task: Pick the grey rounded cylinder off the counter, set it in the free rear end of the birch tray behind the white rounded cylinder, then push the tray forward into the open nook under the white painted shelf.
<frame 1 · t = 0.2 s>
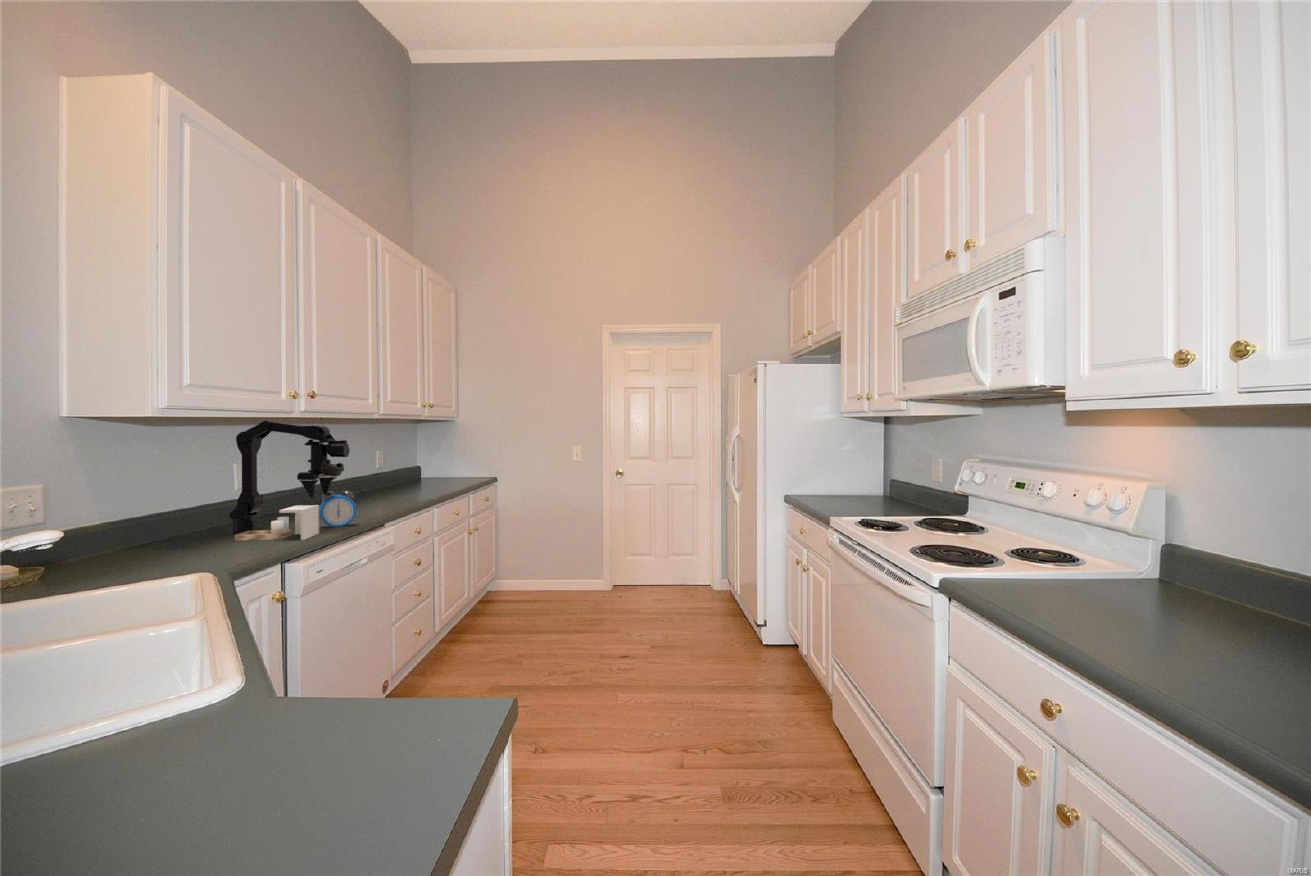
hand: (318, 496, 213), 14 cm above the counter, tool pointing down, fingers open, 9 cm apart
counter nook: (300, 538, 200), on the counter
grey rounded cylinder: (282, 532, 210), on the counter
tray: (264, 539, 198), on the counter, touching white rounded cylinder
alarm clock: (338, 527, 223), on the counter
white rounded cylinder: (277, 537, 198), point 1 cm above the counter, touching tray
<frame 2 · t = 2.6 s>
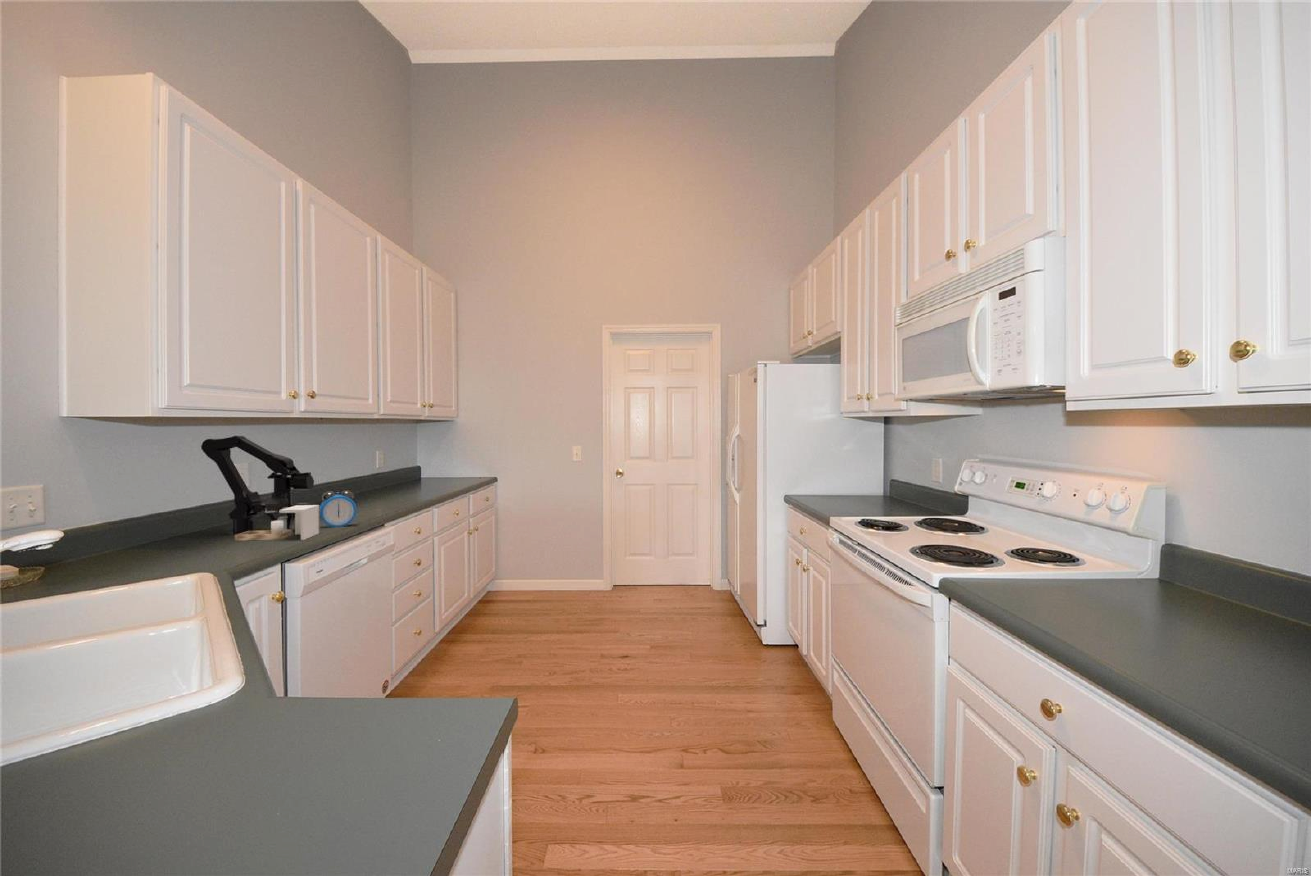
hand: (282, 529, 210), 1 cm above the counter, tool pointing down, fingers closed on grey rounded cylinder, 4 cm apart
grey rounded cylinder: (282, 532, 210), on the counter, touching gripper
everything else where it was.
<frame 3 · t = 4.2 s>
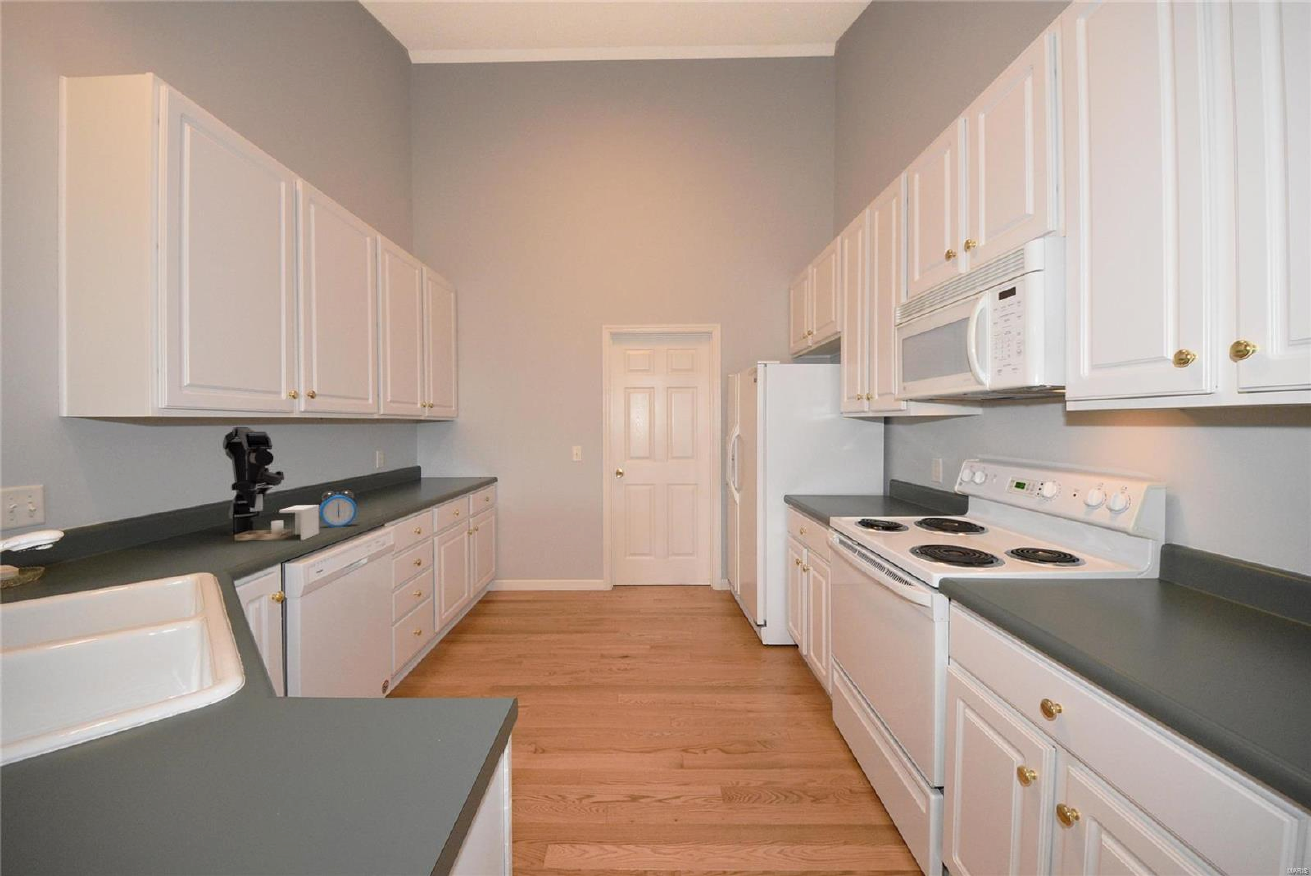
hand: (256, 507, 198), 12 cm above the counter, tool pointing down, fingers closed on grey rounded cylinder, 4 cm apart
grey rounded cylinder: (256, 510, 198), point 10 cm above the counter, touching gripper
everything else where it was.
when the fingers open (3 cm above the counter, at t = 6.1 s): grey rounded cylinder drops 2 cm, resting on tray.
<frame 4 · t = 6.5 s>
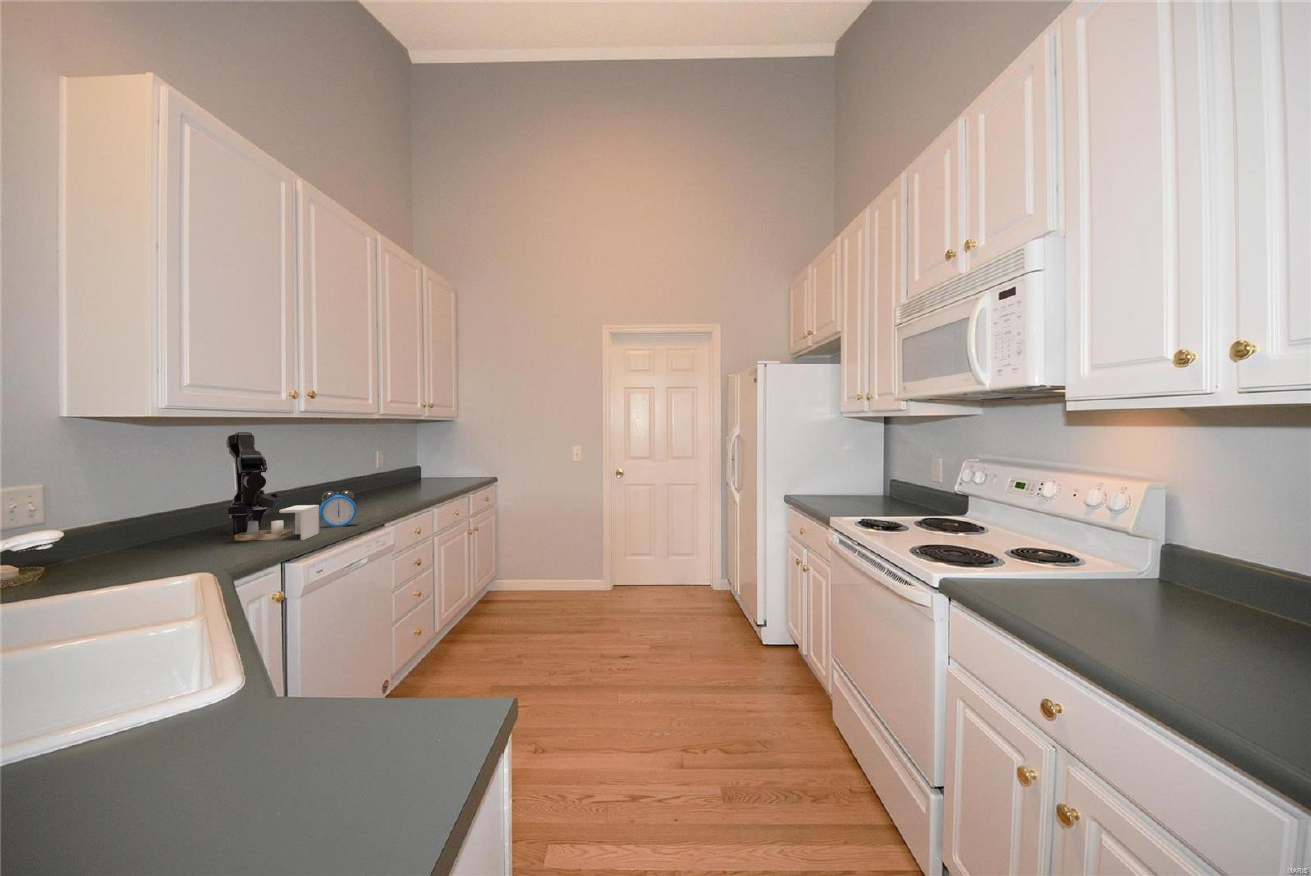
hand: (251, 530, 197), 3 cm above the counter, tool pointing down, fingers open, 8 cm apart
grey rounded cylinder: (251, 537, 197), point 1 cm above the counter, touching tray
tray: (264, 539, 198), on the counter, touching grey rounded cylinder, white rounded cylinder
everything else where it was.
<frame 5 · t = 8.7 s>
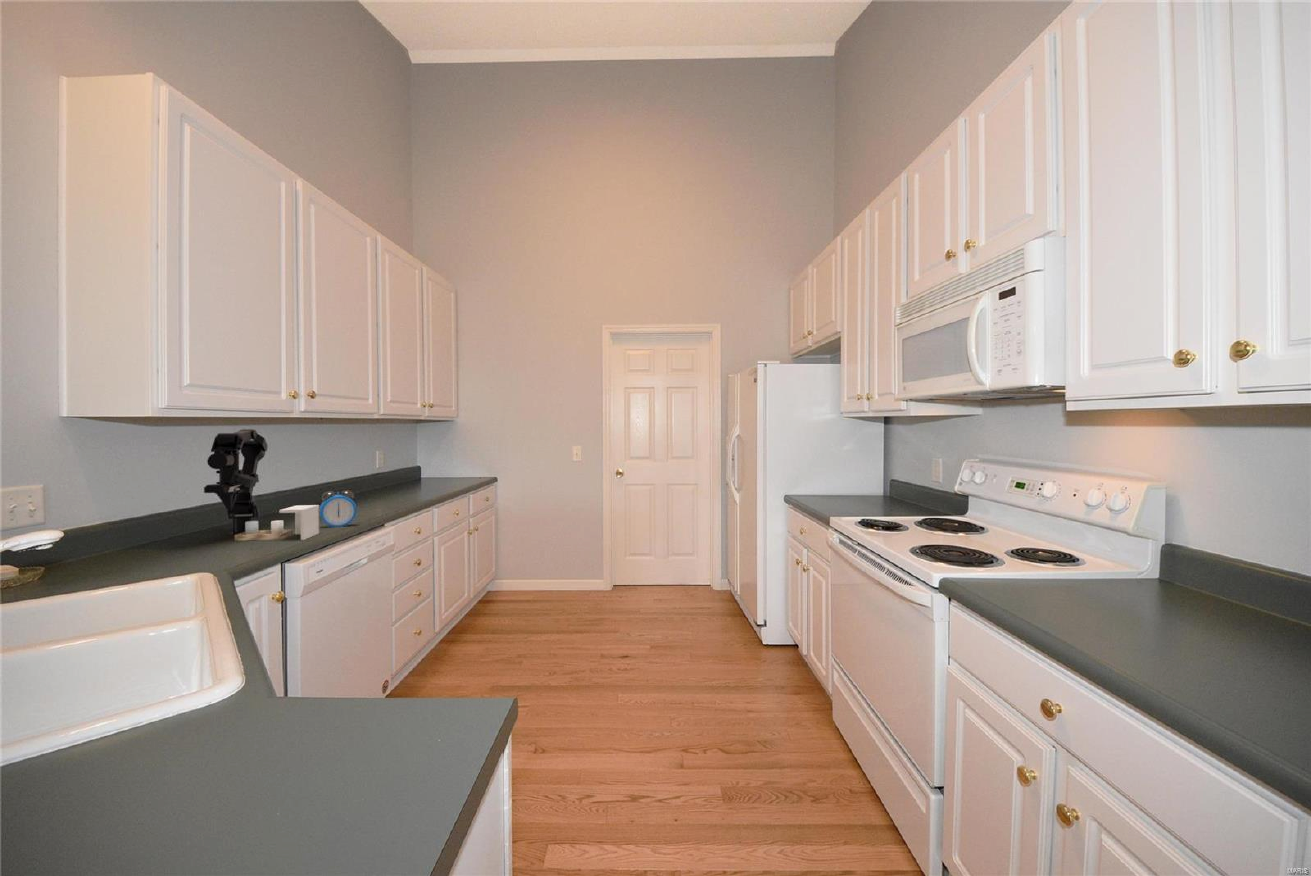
hand: (229, 509, 196), 11 cm above the counter, tool pointing down, fingers closed
nothing on the counter moved.
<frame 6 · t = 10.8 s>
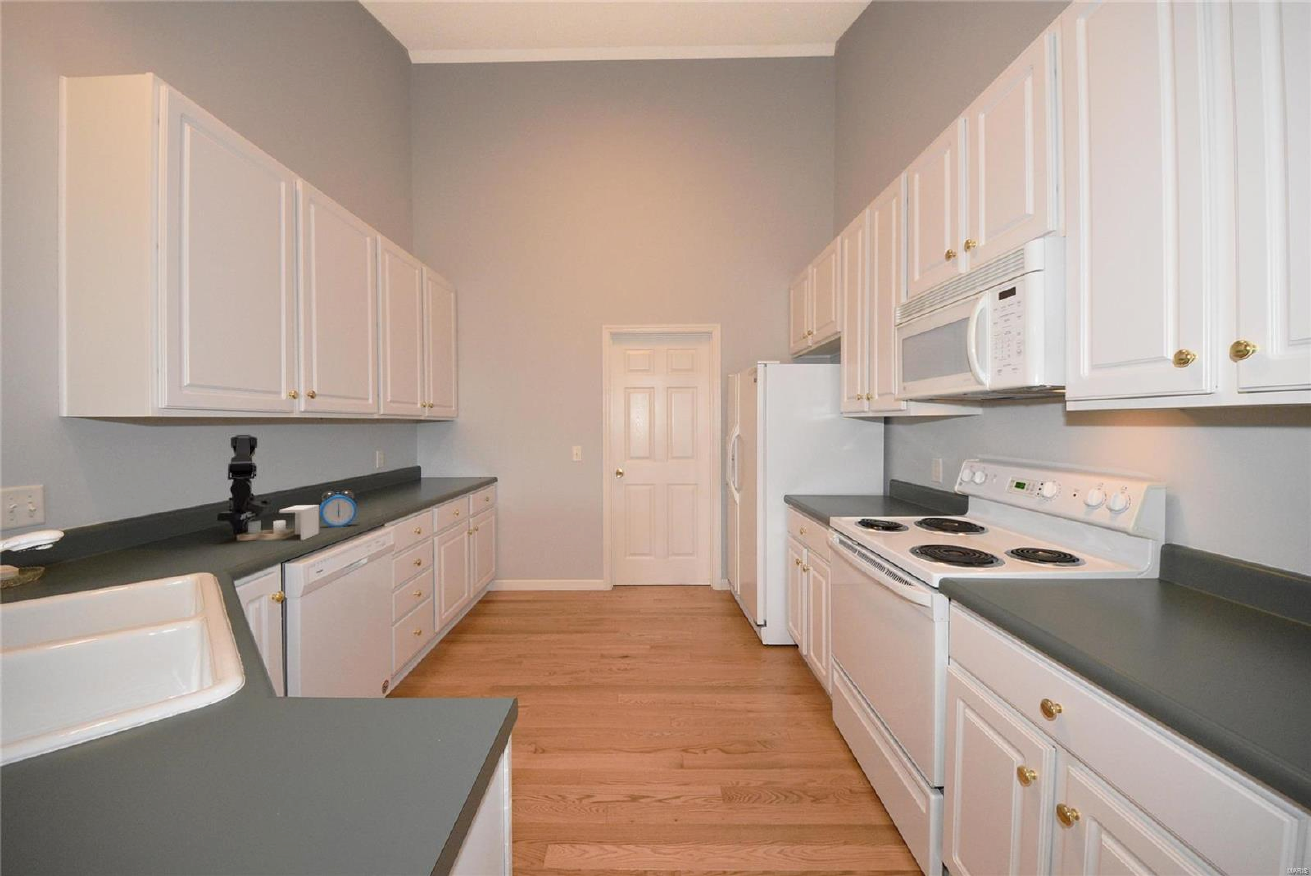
hand: (241, 536, 196), 1 cm above the counter, tool pointing down, fingers closed, pressing on tray
grey rounded cylinder: (254, 537, 197), point 1 cm above the counter, touching gripper, tray
tray: (266, 539, 198), on the counter, touching grey rounded cylinder, white rounded cylinder, gripper
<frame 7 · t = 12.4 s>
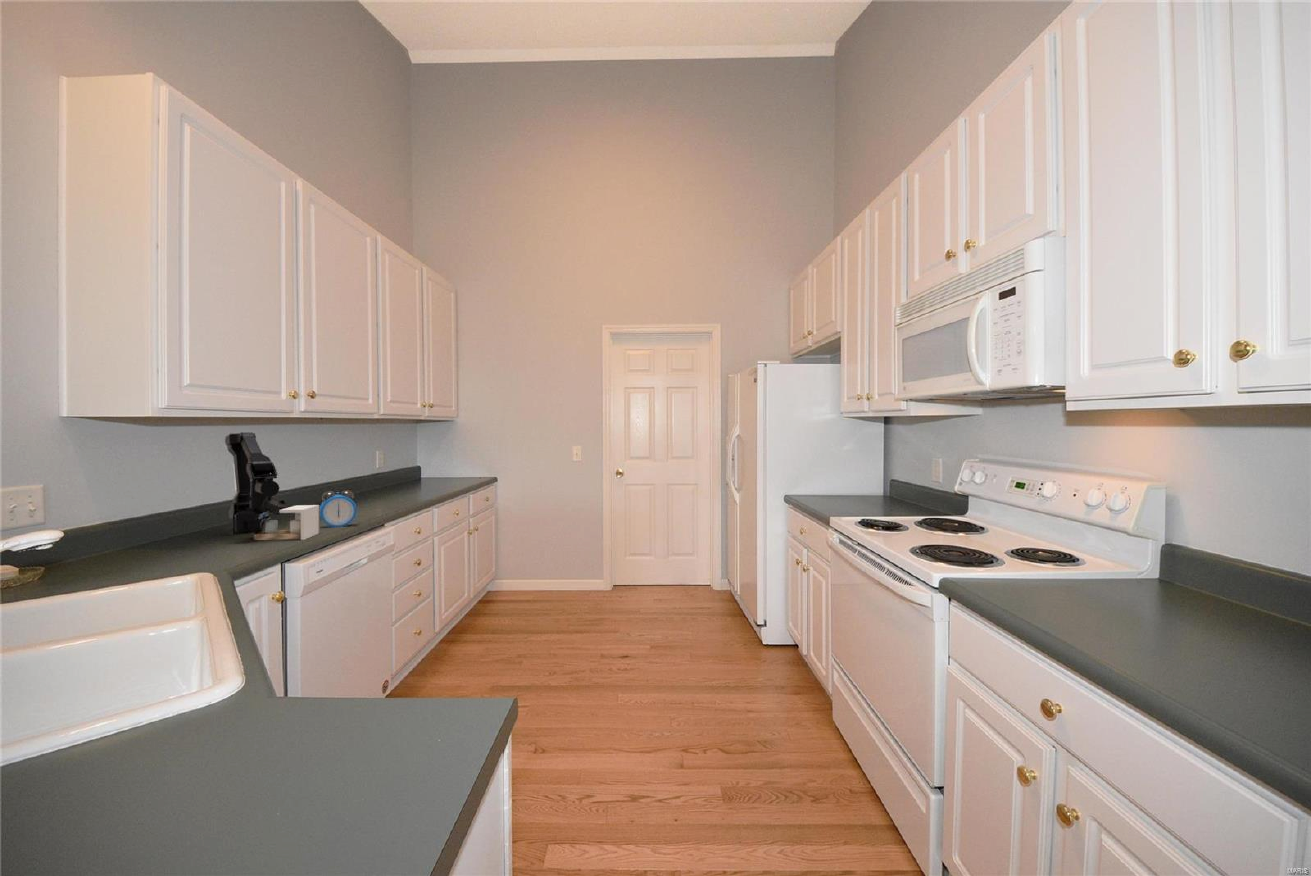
hand: (258, 536, 197), 1 cm above the counter, tool pointing down, fingers closed, pressing on tray
grey rounded cylinder: (270, 537, 198), point 1 cm above the counter, touching gripper, tray
tray: (283, 538, 199), on the counter, touching grey rounded cylinder, white rounded cylinder, gripper
white rounded cylinder: (296, 536, 199), point 1 cm above the counter, touching tray
everything else where it was.
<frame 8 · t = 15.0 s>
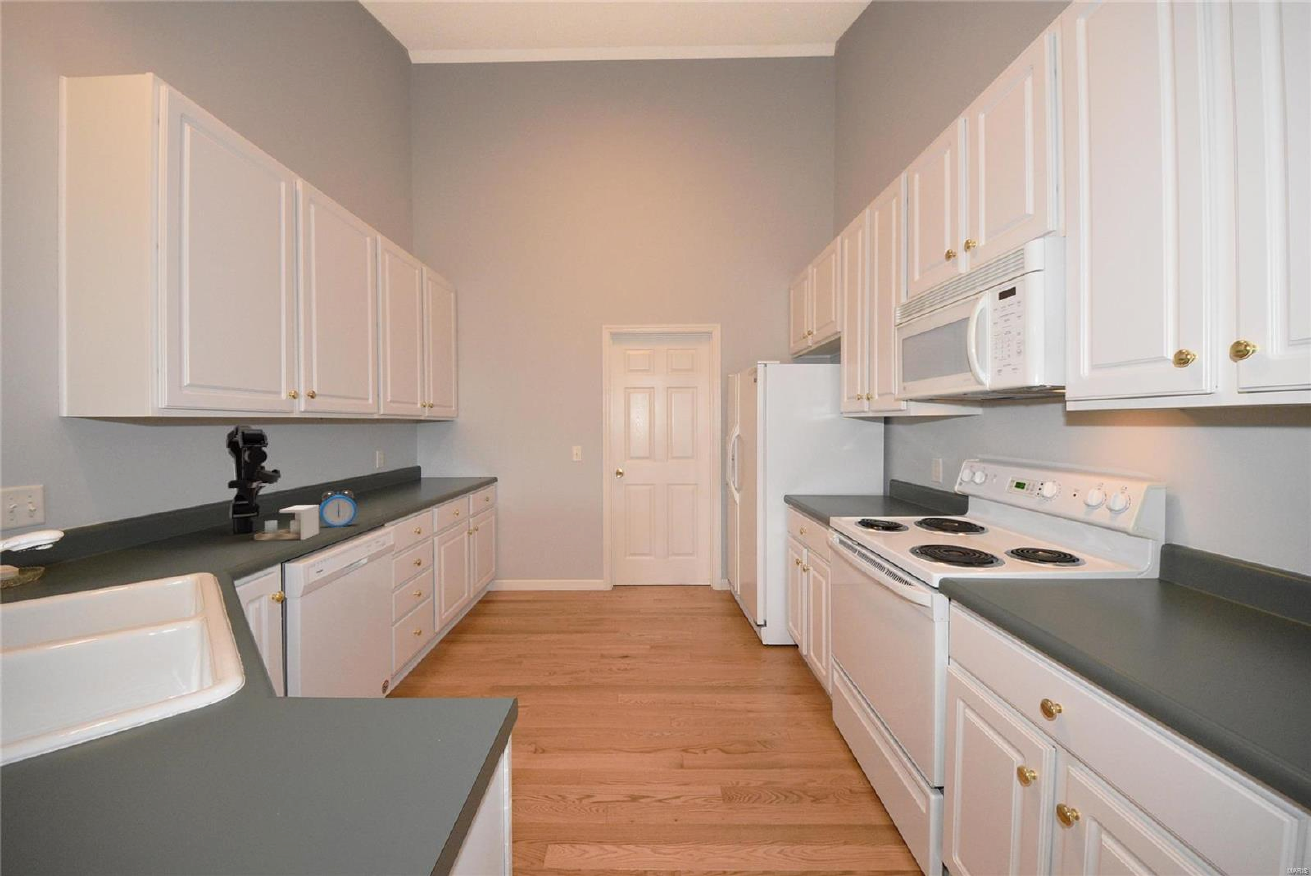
hand: (252, 505, 197), 12 cm above the counter, tool pointing down, fingers closed
grey rounded cylinder: (271, 537, 198), point 1 cm above the counter, touching tray
tray: (283, 538, 199), on the counter, touching grey rounded cylinder, white rounded cylinder
everything else where it was.
at the end: tray inside the target area (1.1 cm from its centre), on the counter; grey rounded cylinder 4.2 cm from the tray (horizontally); white rounded cylinder 4.4 cm from the tray (horizontally) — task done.
